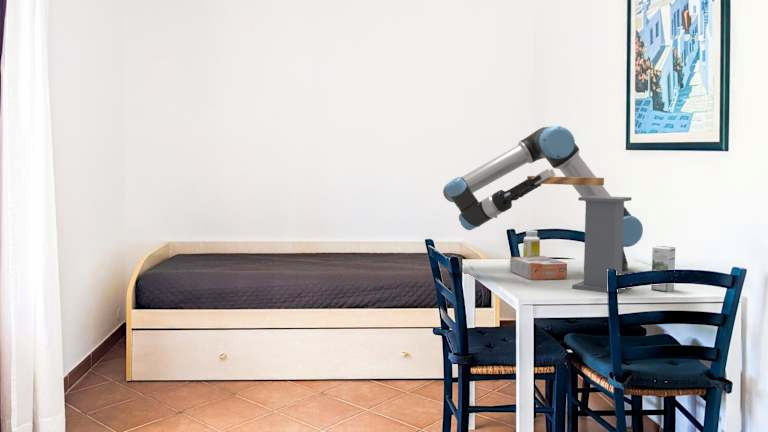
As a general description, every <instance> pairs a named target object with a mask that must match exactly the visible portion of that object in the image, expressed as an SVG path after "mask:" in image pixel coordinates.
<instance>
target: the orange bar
mask: <svg viewBox="0 0 768 432" xmlns="http://www.w3.org/2000/svg"><path fill="white" fill-rule="evenodd" d="M534 176H535V175H527V176H526V180H529V179H532V178H533V177H534ZM534 184H535V183H534ZM538 184H541V185H564V186H565V185H569V186H571V185H572V186H573V185H600V186H601V185H603V186H604V185H605V177H596V178H595V177H565V176H554V177H551V176H550V177H549V178H547V179H545V180H543V181H542V182H540V183H538Z"/></svg>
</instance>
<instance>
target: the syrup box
mask: <svg viewBox="0 0 768 432" xmlns="http://www.w3.org/2000/svg"><path fill="white" fill-rule="evenodd" d="M651 257H652V258H651V272H652V271H654V270H675V269H676V268H675V266H676V247H675V246H668V245H667V246H666V245H665V246H664V245H656V246H655V245H654V246H652V256H651ZM650 286H651V290H652V291H659V292H667V293H668V292H672V291H674V290H675V283H674V284H659V285H652V284H651V285H650Z"/></svg>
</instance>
